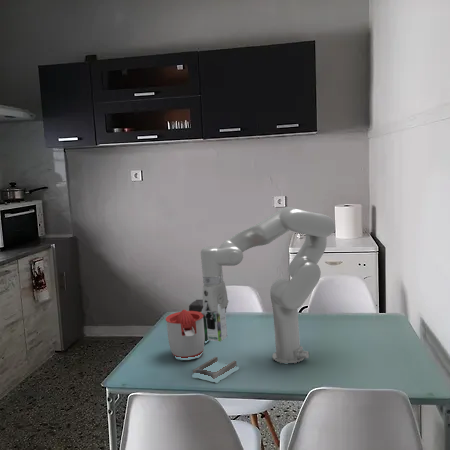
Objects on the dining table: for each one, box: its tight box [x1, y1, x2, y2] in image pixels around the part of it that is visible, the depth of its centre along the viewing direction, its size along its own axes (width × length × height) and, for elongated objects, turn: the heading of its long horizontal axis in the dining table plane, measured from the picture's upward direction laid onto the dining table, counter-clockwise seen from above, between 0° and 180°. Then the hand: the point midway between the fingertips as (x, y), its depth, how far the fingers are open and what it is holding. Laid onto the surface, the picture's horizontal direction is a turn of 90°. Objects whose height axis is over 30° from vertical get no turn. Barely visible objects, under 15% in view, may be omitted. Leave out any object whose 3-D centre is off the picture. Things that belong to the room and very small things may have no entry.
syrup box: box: [206, 303, 228, 343], centre depth 193 cm, size 6×6×14 cm
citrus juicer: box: [165, 309, 205, 358], centre depth 210 cm, size 16×17×20 cm
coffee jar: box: [188, 299, 208, 341], centre depth 226 cm, size 10×8×19 cm
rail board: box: [192, 356, 238, 379], centre depth 193 cm, size 12×14×3 cm
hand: (216, 325), depth 193 cm, fingers closed on syrup box, 6 cm apart
